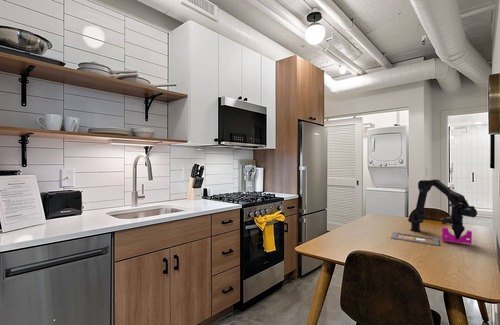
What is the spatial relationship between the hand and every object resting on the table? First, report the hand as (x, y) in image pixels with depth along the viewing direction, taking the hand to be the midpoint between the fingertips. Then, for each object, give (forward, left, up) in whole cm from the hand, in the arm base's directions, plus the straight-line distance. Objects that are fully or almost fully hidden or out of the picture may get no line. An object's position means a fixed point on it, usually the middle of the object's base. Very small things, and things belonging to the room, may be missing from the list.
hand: (456, 238), depth 169 cm
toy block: (0, 0, -2) cm, 2 cm away
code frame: (+4, -23, -3) cm, 24 cm away
